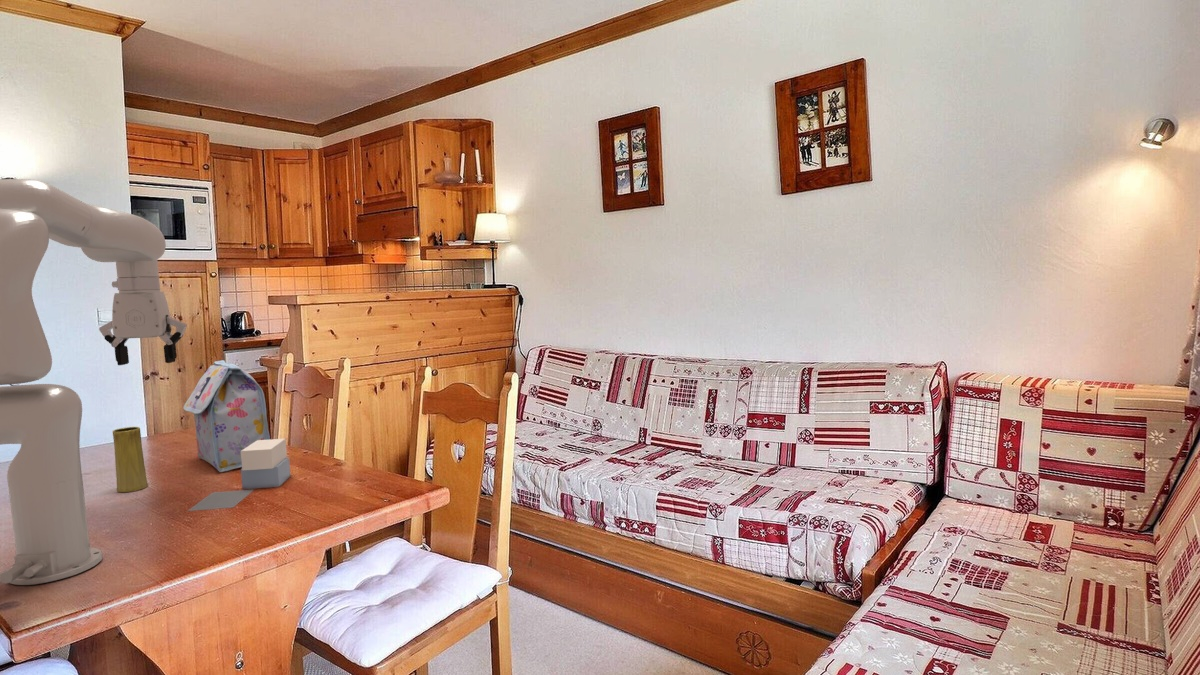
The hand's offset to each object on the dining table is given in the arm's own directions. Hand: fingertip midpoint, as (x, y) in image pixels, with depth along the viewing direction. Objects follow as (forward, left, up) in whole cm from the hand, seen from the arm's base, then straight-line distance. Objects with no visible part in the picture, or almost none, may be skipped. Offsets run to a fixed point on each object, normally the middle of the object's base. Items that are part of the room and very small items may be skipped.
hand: (147, 363), depth 147 cm
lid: (+4, -21, -25) cm, 33 cm away
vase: (+8, +10, -31) cm, 33 cm away
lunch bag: (+28, -4, -31) cm, 42 cm away
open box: (+4, -21, -30) cm, 37 cm away
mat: (-7, -16, -30) cm, 35 cm away
